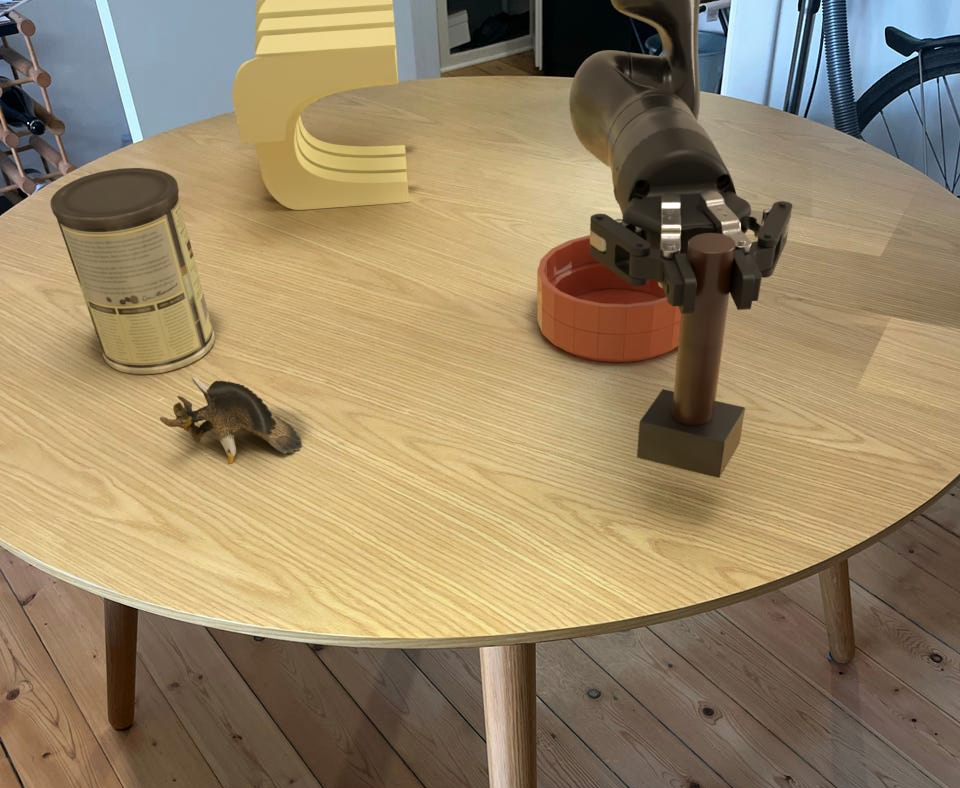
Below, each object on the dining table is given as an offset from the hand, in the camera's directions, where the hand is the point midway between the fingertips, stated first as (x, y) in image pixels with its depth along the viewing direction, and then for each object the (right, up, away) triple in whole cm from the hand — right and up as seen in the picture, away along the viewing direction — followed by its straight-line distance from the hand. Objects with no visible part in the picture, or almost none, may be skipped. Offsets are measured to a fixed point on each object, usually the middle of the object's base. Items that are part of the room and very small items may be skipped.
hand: (718, 296), depth 60 cm
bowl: (-2, +8, +33) cm, 34 cm away
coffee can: (-44, +7, +34) cm, 56 cm away
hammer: (0, -7, +11) cm, 13 cm away
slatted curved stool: (-31, +33, +59) cm, 74 cm away
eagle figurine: (-33, -5, +22) cm, 40 cm away
